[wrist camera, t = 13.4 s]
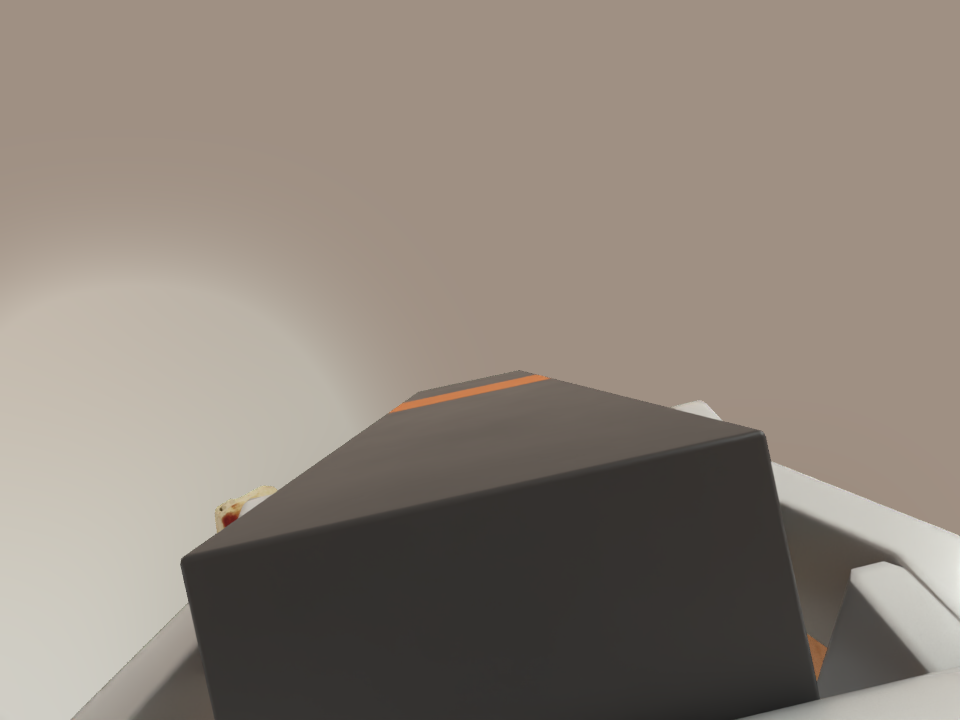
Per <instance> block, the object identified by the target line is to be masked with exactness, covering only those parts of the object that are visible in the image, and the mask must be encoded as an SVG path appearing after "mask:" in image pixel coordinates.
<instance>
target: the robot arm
mask: <svg viewBox="0 0 960 720" xmlns="http://www.w3.org/2000/svg"><path fill="white" fill-rule="evenodd" d="M670 408H672V409H676V410H680V411H685V412H689V413H693V414H697V415H701V416H705V417H709V418H713V419H717V420H721V419H720V418H719V417H718V415H717V414H716V413H715V412H714V411H713V410H712V409H711V408H710V407H709V406H708V405H707V404H706V403H705V402H702V401H700V400H698V401H694V402H690V403H685V404H681V405H678V406H673V407H670ZM721 421H722V420H721ZM771 464H772V469H773V474H774V479H775V483H776V488H777V493H778V498H779V503H780V508H781V512H782V517H783V522H784V527H785V532H786V537H787V541H788V546H789V551H790V556H791V561H792V565H793V570H794V575H795V580H796V585H797V590H798V594H799V599H800V604H801V609H802V614H803V619H804V623H805V628H806V633H807V634H809V635H810V636H811V637H813V638H814V639H816V640H817V641H819V642H820V643H821V644H823V645H824V646H826V647H827V651H826V654H825V657H824V661H823V664H822V667H821V670H820V674H819V677H818V680H817V686H818V691H819V696H820V699H819V700H815V701H811V702H807V703H803V704H798V705H794V706H790V707H786V708H782V709H777V710H773V711H769V712H765V713H761V714H756V715H752V716H748V717H744V718H739V719H735V720H960V536H959V535H957V534H954V533H952V532H949V531H947V530H944V529H942V528H939V527H936V526H934V525H931V524H929V523H926V522H924V521H921V520H919V519H916V518H914V517H911V516H909V515H906V514H903V513H901V512H898V511H896V510H893V509H891V508H888V507H886V506H883V505H880V504H878V503H876V502H873V501H871V500H868V499H866V498H863V497H861V496H858V495H856V494H853V493H850V492H848V491H845V490H843V489H840V488H837V487H835V486H833V485H830V484H828V483H825V482H823V481H820V480H817V479H815V478H812V477H810V476H807V475H805V474H802V473H800V472H797V471H795V470H792V469H790V468H787V467H785V466H782V465H780V464H777V463H774V462H771ZM271 495H272V494H271ZM271 495H266V496H261V497H256V498H251V499H249V500H248V501H247V502H246V503H245V504H244V505H243V506H242V509H241V512H240V514H239V517H238V518H240V517H241V516H242V515H244V514H245V513H247V512H248V511H250V510H251V509H252V508H254V507H255V506H257V505H258V504H259V503H261V502H262V501H264V500H265V499H267V498H268V497H269V496H271ZM71 720H214V715H213V711H212V706H211V702H210V697H209V693H208V688H207V683H206V679H205V674H204V670H203V665H202V661H201V656H200V652H199V647H198V642H197V638H196V633H195V629H194V624H193V620H192V615H191V611H190V606H189V602H188V603H187V604H186V605H185V606H184V607H183V608H182V609H181V610H180V611H179V612H178V613H177V614H176V615H175V616H174V617H173V618H172V619H171V620H170V621H169V622H168V623H167V624H166V625H165V626H164V627H163V628H162V629H161V630H160V631H159V632H158V633H157V634H156V635H155V636H154V637H153V638H152V639H151V640H150V641H149V642H148V643H147V644H146V645H145V646H144V647H143V648H142V649H141V650H140V651H139V652H138V653H137V654H136V655H135V656H134V657H133V658H132V659H131V660H130V661H129V662H128V663H127V664H126V665H125V666H124V667H123V668H122V669H121V670H120V671H119V672H118V673H117V674H116V675H115V676H114V677H113V678H112V679H111V680H110V681H109V682H108V683H107V684H106V685H105V686H104V687H103V688H102V689H101V690H100V691H99V692H98V693H97V694H96V695H95V696H94V697H93V698H92V699H91V700H90V701H89V702H88V703H87V704H86V705H85V706H84V707H83V708H82V709H81V710H80V711H79V712H78V713H77V714H76V715H75V716H74V717H73V718H72V719H71Z"/></svg>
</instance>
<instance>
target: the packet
mask: <svg viewBox="0 0 960 720" xmlns="http://www.w3.org/2000/svg"><path fill="white" fill-rule="evenodd" d="M180 565H181V569H182V574H183V579H184V583H185V588H186V592H187V597H188V602H189V606H190V611H191V615H192V620H193V624H194V629H195V633H196V638H197V642H198V647H199V652H200V656H201V661H202V665H203V670H204V674H205V679H206V683H207V688H208V693H209V697H210V702H211V706H212V711H213V715H214V720H735V719H739V718H744V717H748V716H752V715H756V714H761V713H765V712H769V711H773V710H777V709H782V708H786V707H790V706H794V705H798V704H803V703H807V702H811V701H815V700H819V699H820V696H819V691H818V686H817V681H816V676H815V672H814V667H813V662H812V657H811V652H810V647H809V643H808V638H807V633H806V628H805V623H804V619H803V614H802V609H801V604H800V599H799V594H798V590H797V585H796V580H795V575H794V570H793V565H792V561H791V556H790V551H789V546H788V541H787V537H786V532H785V527H784V522H783V517H782V512H781V508H780V503H779V498H778V493H777V488H776V483H775V479H774V474H773V469H772V464H771V459H770V455H769V450H768V445H767V440H766V436H765V434H764V433H763V431H761V430H756V429H752V428H748V427H744V426H741V425H737V424H732V423H729V422H724V421H721V420H717V419H713V418H709V417H705V416H701V415H697V414H693V413H689V412H685V411H680V410H676V409H672V408H668V407H664V406H660V405H656V404H652V403H648V402H644V401H640V400H636V399H632V398H628V397H624V396H620V395H616V394H612V393H608V392H604V391H600V390H596V389H592V388H588V387H584V386H580V385H576V384H572V383H568V382H564V381H560V380H556V379H552V378H548V377H544V376H540V375H536V374H532V373H528V372H524V371H520V370H518V371H514V372H509V373H504V374H500V375H495V376H490V377H486V378H481V379H477V380H472V381H467V382H462V383H458V384H453V385H448V386H444V387H439V388H434V389H430V390H425V391H420V392H418V393H416V394H415V395H413V396H412V397H411V398H409V399H408V400H407V401H405V402H403V403H402V404H401V405H399V406H398V407H396V408H395V409H394V410H392V411H391V412H389V413H388V414H386V415H385V416H384V417H382V418H381V419H379V420H378V421H376V422H375V423H374V424H372V425H371V426H369V427H368V428H366V429H365V430H364V431H362V432H361V433H359V434H358V435H357V436H355V437H354V438H352V439H351V440H349V441H348V442H347V443H345V444H344V445H342V446H341V447H340V448H338V449H336V450H335V451H334V452H332V453H331V454H329V455H328V456H327V457H325V458H324V459H322V460H321V461H319V462H318V463H317V464H315V465H314V466H312V467H311V468H309V469H308V470H307V471H305V472H304V473H302V474H301V475H299V476H298V477H297V478H295V479H294V480H292V481H291V482H289V483H288V484H287V485H285V486H284V487H283V488H281V489H280V490H278V491H277V492H275V493H274V494H272V495H271V496H269V497H268V498H267V499H265V500H264V501H262V502H261V503H259V504H258V505H257V506H255V507H254V508H252V509H251V510H250V511H248V512H247V513H245V514H244V515H242V516H241V517H240V518H238V519H237V520H235V521H234V522H232V523H231V524H230V525H228V526H227V527H225V528H224V529H222V530H221V531H220V532H218V533H217V534H215V535H214V536H213V537H211V538H210V539H208V540H207V541H205V542H204V543H203V544H201V545H200V546H198V547H197V548H195V549H194V550H193V551H191V552H190V553H188V554H187V555H186V556H184V557H183V558H182V559H181V564H180Z"/></svg>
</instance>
